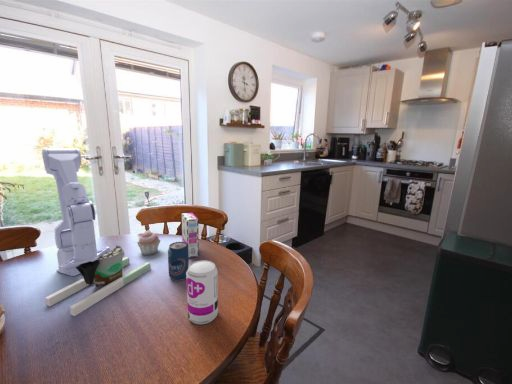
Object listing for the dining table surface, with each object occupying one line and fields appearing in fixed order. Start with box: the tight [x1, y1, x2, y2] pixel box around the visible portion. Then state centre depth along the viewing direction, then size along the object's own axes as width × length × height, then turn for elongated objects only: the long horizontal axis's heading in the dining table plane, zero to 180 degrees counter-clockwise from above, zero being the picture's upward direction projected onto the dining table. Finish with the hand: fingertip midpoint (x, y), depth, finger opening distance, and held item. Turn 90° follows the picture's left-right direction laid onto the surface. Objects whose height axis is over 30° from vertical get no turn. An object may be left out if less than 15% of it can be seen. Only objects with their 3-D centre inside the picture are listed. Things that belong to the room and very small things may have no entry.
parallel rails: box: [44, 256, 152, 317], centre depth 84 cm, size 12×28×2 cm, turn 159°
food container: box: [94, 244, 125, 287], centre depth 86 cm, size 12×6×10 cm, turn 168°
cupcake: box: [136, 229, 162, 256], centre depth 107 cm, size 9×9×10 cm
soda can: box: [167, 241, 190, 282], centre depth 89 cm, size 7×7×12 cm
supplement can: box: [185, 260, 219, 325], centre depth 69 cm, size 8×8×15 cm
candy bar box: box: [181, 212, 200, 259], centre depth 108 cm, size 11×5×16 cm, turn 27°
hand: (89, 283), depth 79 cm, fingers closed
